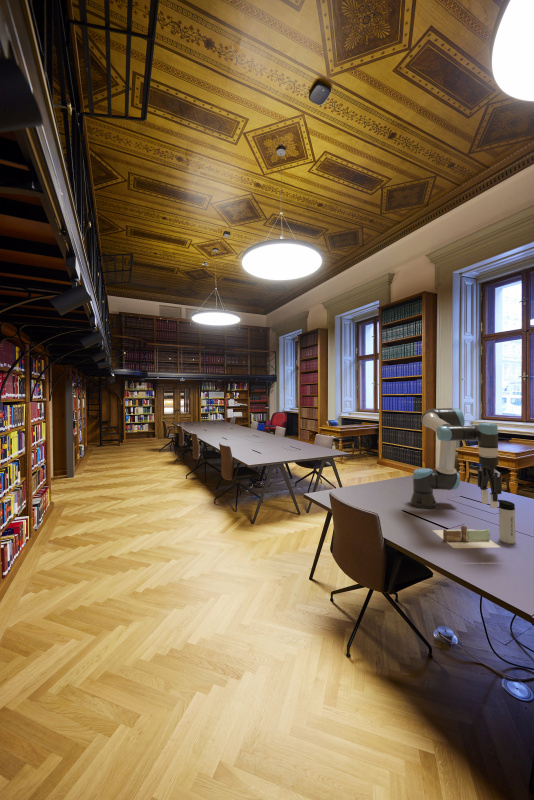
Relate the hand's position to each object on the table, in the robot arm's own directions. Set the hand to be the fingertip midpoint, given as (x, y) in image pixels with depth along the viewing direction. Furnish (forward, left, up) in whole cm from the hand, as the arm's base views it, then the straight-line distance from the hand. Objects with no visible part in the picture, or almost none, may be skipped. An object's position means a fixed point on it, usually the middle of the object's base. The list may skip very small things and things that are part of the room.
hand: (489, 505), depth 149 cm
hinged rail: (-6, -1, -19) cm, 20 cm away
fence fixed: (-6, -13, -19) cm, 24 cm away
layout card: (-9, -6, -20) cm, 23 cm away
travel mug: (-5, +12, -20) cm, 24 cm away
